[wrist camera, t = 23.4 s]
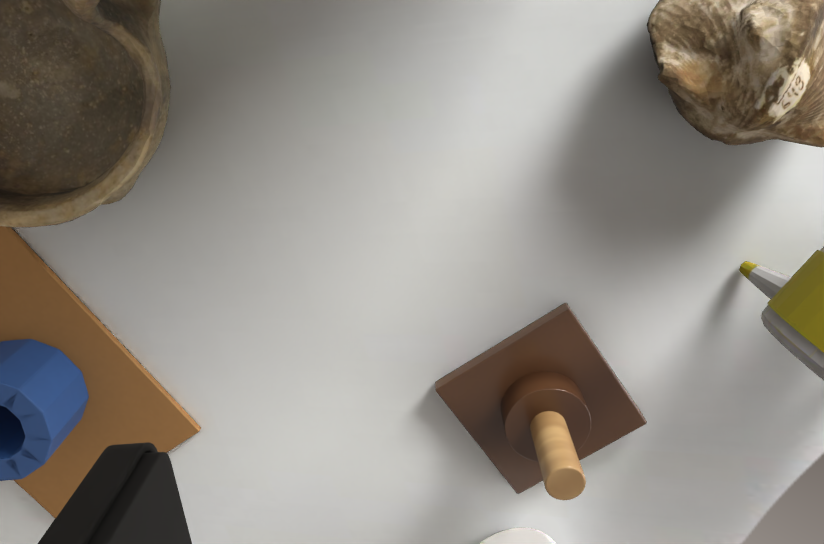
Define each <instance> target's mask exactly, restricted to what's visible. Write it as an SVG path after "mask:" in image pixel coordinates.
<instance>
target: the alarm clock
mask: <svg viewBox="0 0 824 544" xmlns="http://www.w3.org/2000/svg"><path fill="white" fill-rule="evenodd" d="M739 271H740V272H741V273H742V274H743V275H744V276H745V277H746V278H747V279H748V280H750V281H751V282H752V283H753V284H754V285H755V286H756V287H757V288H759V289H760V290H761V291H762V292H763V293H764V294H765V295H766V296H768V297H769V298H770V299H771V300H770V301H769V302H768V306H767V307H766V308H765V309H764V311H763V312H762V316H761V319H762V321H763V324H764V326H765V327H766V328H767V329H768V330H769V332H770V333H771V334H772V335H773V336H774V337H775V338H776V339H777V340H778V341H779V342H780V343H781V344H782V345H783V346H784V347H786V348H787V349H788V350H789V351H790V352H791V353H792V354H793V355H794V356H796V357H797V358H798V359H799V360H800V361H801V362H803V363H804V364H805V365H806V366H807V367H808V368H809V369H811V370H812V371H813V372H814V373H815V374H817V375H818V376H819V377H820V378H822V379H823V380H824V247H823V248H822V249H821V250H820V251H819V250H817V251H816V252H815V253H814V254H813V255H812V256H811V257H810V258H809V259H808V260H807V261H806V263H805V264H804V265H803V266H802V267H801V268H800V269H799V270H798V271H797V272H796V273H795V274H794V275H793V276H792V277H790V276H787V275H784V274H781V273H779V272H776V271H773V270H770V269H768V268H765V267H762V266H759V265H756V264H753V263H750V262H747V261H745V262H744V263H743V264H741V266H740V269H739Z"/></svg>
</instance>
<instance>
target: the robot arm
mask: <svg viewBox="0 0 824 544" xmlns="http://www.w3.org/2000/svg"><path fill="white" fill-rule="evenodd" d="M38 544H192V542H191V538H190V534H189V531H188V527H187V523H186V519H185V515H184V511H183V507H182V503H181V499H180V496H179V492H178V488H177V484H176V480H175V476H174V472H173V468H172V464H171V461H170V458H169V456H168V454H167V453H166V452H158V451H157V448H156V447H155V446H154V444H152V443H150V442H146V443H132V444H118V445H110V446H108V447H107V448H106V449H105V450H104V451H103V452H102V454H101V455H100V457H99V458H98V459H97V461H96V462H95V464H94V465H93V466H92V468H91V469H90V471H89V472H88V473H87V475H86V476H85V478H84V479H83V481H82V482H81V483H80V485H79V486H78V488H77V489H76V490H75V492H74V493H73V495H72V496H71V497H70V499H69V500H68V502H67V503H66V505H65V506H64V507H63V509H62V510H61V512H60V513H59V514H58V516H57V517H56V519H55V520H54V521H53V523H52V524H51V526H50V527H49V529H48V530H47V531H46V533H45V534H44V536H43V537H42V538H41V540H40V541H39V543H38Z"/></svg>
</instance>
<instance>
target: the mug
mask: <svg viewBox="0 0 824 544" xmlns="http://www.w3.org/2000/svg"><path fill="white" fill-rule="evenodd" d="M479 544H556V543H555V541H554V540H553V539H552V538H551V537H549V536H548V535H547V534H545V533H544V532H541V531H539V530H536V529H532V528H512V529H508V530H504V531H501V532H498V533H496V534H494V535H492V536H490V537H488V538H486V539H485V540H483V541H482V542H480V543H479Z"/></svg>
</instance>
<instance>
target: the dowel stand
mask: <svg viewBox="0 0 824 544" xmlns="http://www.w3.org/2000/svg"><path fill="white" fill-rule="evenodd" d="M435 390H436V392H437V393H438V394H439V396H440V397H441V398H442V399H443V401H444V402H445V403H446V404H447V406H448V407H449V408H450V409H451V411H452V412H453V413H454V414H455V416H456V417H457V418H458V419H459V421H460V422H461V423H462V425H463V426H464V427H465V428H466V430H467V431H468V432H469V433H470V435H471V436H472V437H473V438H474V440H475V441H476V442H477V443H478V445H479V446H480V447H481V449H482V450H483V451H484V452H485V454H486V455H487V456H488V457H489V459H490V460H491V461H492V462H493V464H494V465H495V466H496V467H497V469H498V470H499V471H500V472H501V474H502V475H503V476H504V478H505V479H506V480H507V481H508V483H509V484H510V485H511V486H512V488H513V489H514V490H515V491H516V493H517V494H519V493H521V492H523V491H525V490H527V489H528V488H530V487H532V486H534V485H536V484H538V483H539V482H541V481H544V485H545V489H546V491H547V492H548V493H549V495H551V496H552V497H553V498H556V499H559V500H570V499H573V498H575V497H577V496H578V495H580V494H581V493H582V491H583V490H584V488H585V484H586V479H585V476H584V473H583V470H582V467H581V464H580V462H579V460H581V459H583V458H585V457H587V456H588V455H590V454H592V453H594V452H596V451H598V450H599V449H601V448H603V447H605V446H607V445H608V444H610V443H612V442H614V441H616V440H618V439H619V438H621V437H623V436H625V435H627V434H628V433H630V432H632V431H634V430H636V429H638V428H639V427H641V426H643V425H645V424H646V423H647V421H646V420H645V418H644V416H643V414H642V413H641V411H640V410H639V408H638V407H637V405H636V404H635V402H634V401H633V399H632V398H631V397H630V395H629V394H628V392H627V391H626V389H625V388H624V386H623V385H622V383H621V382H620V380H619V379H618V377H617V376H616V375H615V373H614V372H613V370H612V369H611V367H610V366H609V364H608V363H607V361H606V360H605V358H604V357H603V356H602V354H601V353H600V351H599V350H598V348H597V347H596V345H595V344H594V342H593V341H592V339H591V338H590V336H589V335H588V334H587V332H586V331H585V329H584V328H583V326H582V325H581V323H580V322H579V320H578V319H577V317H576V316H575V315H574V313H573V312H572V310H571V309H570V307H569V306H568V304H567V303H564V304H563V305H561V306H559V307H558V308H556V309H554V310H553V311H551V312H549V313H548V314H546V315H544V316H543V317H541V318H540V319H538V320H536V321H535V322H533V323H531V324H530V325H528V326H526V327H525V328H523V329H521V330H520V331H518V332H517V333H515V334H513V335H512V336H510V337H508V338H507V339H505V340H503V341H502V342H500V343H498V344H497V345H495V346H494V347H492V348H490V349H489V350H487V351H485V352H484V353H482V354H480V355H479V356H477V357H476V358H474V359H472V360H471V361H469V362H467V363H466V364H464V365H462V366H461V367H459V368H457V369H456V370H454V371H453V372H451V373H449V374H448V375H446V376H444V377H443V378H441V379H439V380H438V381H436V382H435Z"/></svg>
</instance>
